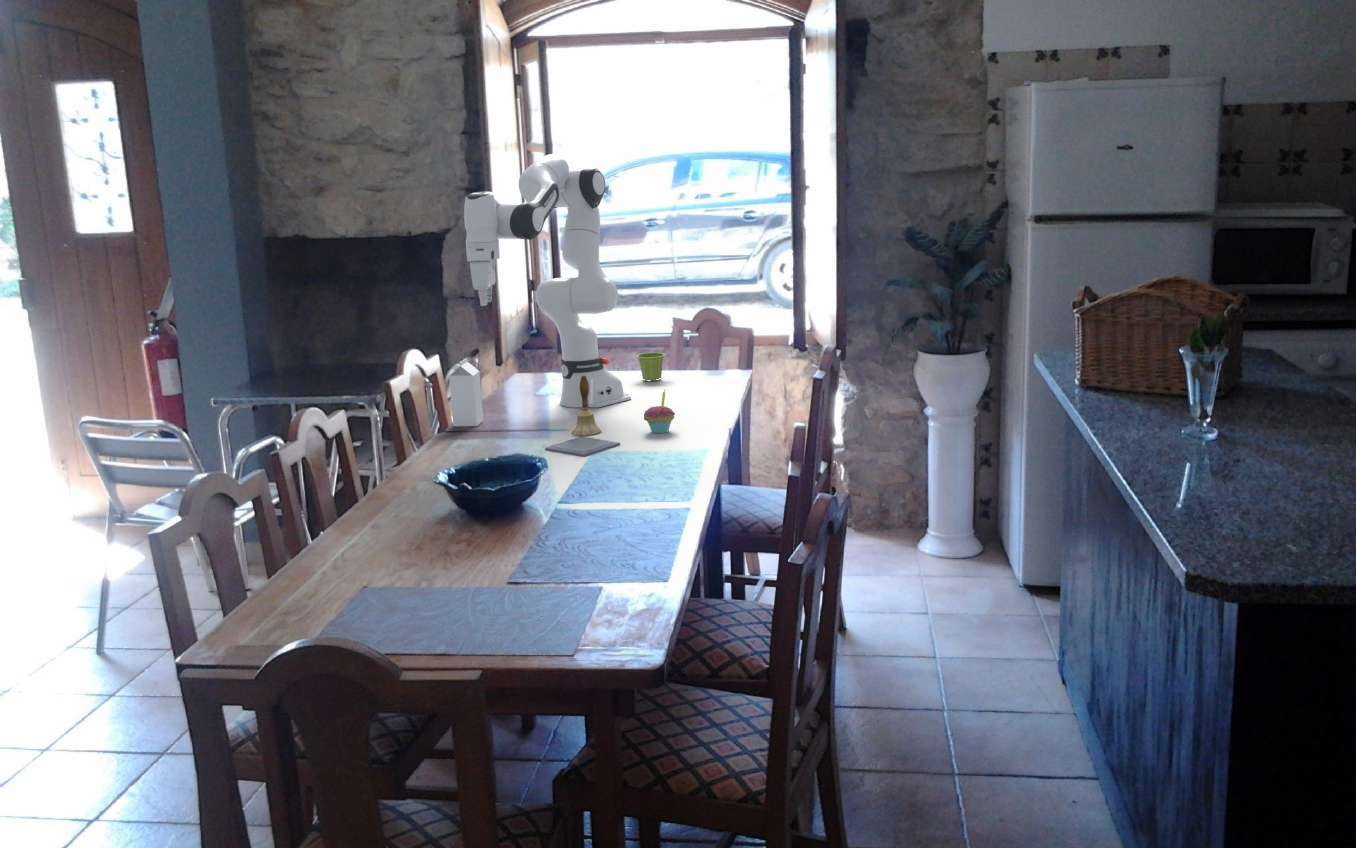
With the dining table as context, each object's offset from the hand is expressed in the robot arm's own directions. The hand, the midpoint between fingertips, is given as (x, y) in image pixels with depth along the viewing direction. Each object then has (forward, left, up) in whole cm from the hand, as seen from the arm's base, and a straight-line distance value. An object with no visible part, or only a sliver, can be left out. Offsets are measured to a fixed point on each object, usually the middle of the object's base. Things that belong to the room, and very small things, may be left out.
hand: (486, 303), depth 318 cm
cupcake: (-34, +31, -37) cm, 59 cm away
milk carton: (0, -17, -37) cm, 41 cm away
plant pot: (-76, -32, -37) cm, 91 cm away
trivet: (-9, +31, -37) cm, 49 cm away
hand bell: (-19, +17, -37) cm, 45 cm away
